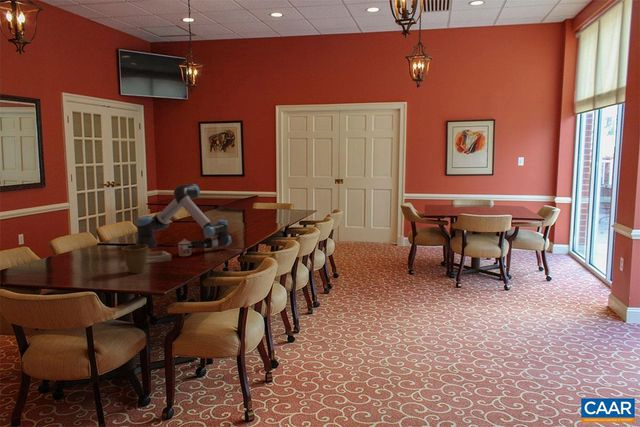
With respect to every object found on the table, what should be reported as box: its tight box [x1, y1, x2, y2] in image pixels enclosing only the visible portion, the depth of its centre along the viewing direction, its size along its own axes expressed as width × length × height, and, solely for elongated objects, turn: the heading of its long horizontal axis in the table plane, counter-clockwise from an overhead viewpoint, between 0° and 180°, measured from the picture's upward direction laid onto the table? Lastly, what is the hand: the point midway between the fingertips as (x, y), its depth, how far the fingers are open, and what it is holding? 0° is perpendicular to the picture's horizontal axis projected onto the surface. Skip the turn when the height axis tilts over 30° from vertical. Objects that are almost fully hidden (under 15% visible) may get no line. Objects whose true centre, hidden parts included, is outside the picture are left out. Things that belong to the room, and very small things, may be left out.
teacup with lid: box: [177, 238, 196, 257], centre depth 352 cm, size 12×9×12 cm
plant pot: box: [121, 244, 149, 274], centre depth 305 cm, size 15×15×16 cm
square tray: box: [145, 250, 173, 265], centre depth 337 cm, size 17×20×4 cm
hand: (180, 246), depth 350 cm, fingers closed on teacup with lid, 9 cm apart
